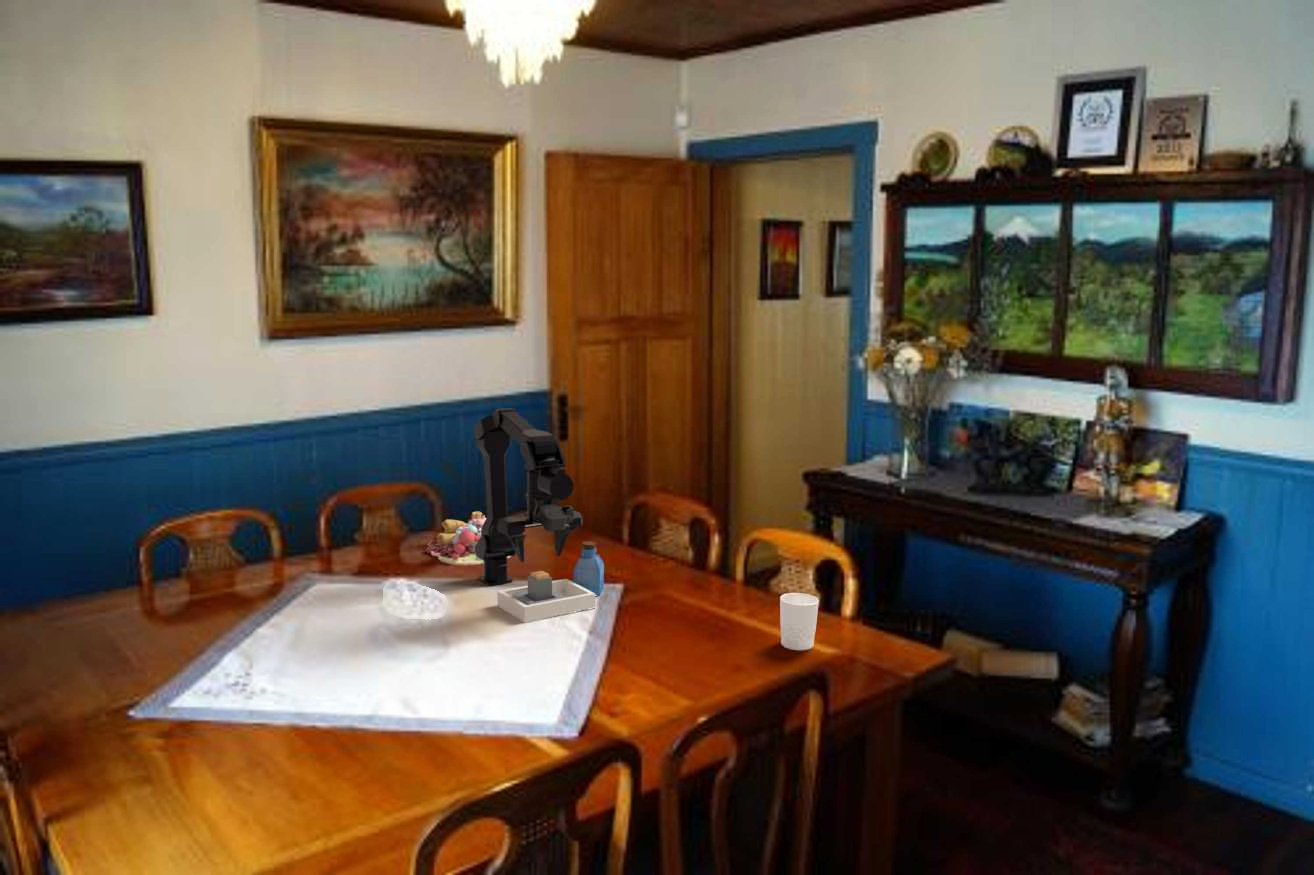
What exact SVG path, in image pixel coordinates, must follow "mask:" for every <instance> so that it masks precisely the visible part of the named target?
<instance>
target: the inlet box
mask: <svg viewBox="0 0 1314 875" xmlns="http://www.w3.org/2000/svg"><path fill="white" fill-rule="evenodd" d="M496 595H497V607H499V608H500V609H502V610H504V611H505V612H506V613H508V614H510V615H511V616H513V617H515V618H516V619H518V620H519V621H521V622H523V623H524V624H525V623H530V622H536V621H541V620H545V619H544V618H546V619H549V618H548V617H551V618H555V617H554V616H556V617H558V616H557V615H561V616H563V615H562V614H566V615H568V614H567V613H570V612H574V611H578V610H584V609H588V608H593V607H595V608H596V597H595V593H593V592H591V591H589V590H587V589H585V588H583V587H582V586H580V585H578V584H576V583H574V581H572V580H569V579H568V578H564V579H557V580H552V599H547V600H541V601H536V602H534V601H533V600H531V599H529V598H528V585H525V586H518V587H512V588H508V589H500V590H497V594H496Z"/></svg>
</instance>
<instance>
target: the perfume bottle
mask: <svg viewBox="0 0 1314 875" xmlns="http://www.w3.org/2000/svg"><path fill="white" fill-rule="evenodd" d="M596 544H597V542H596V541H592V540H591V541H583V542H582V548H581V553H582V554H581V556H579V558H578V561H577V563H576V564H575V567H574V569H573V582H574V583H576V584H578V585H580V586H582V587H583V588H585V589H587V590H589V591H591V592H593V593H595V595H597V596H600V597H601V595H602V593H603V591H602V590H604V589H603V588H605V587H604V585H605V584H604V583H605V582H604V581H605V580H604V579H605V577H604V576H605V574H604V572H605V571H604V570H605V563H604V562H603V560H602V558H601V556H600V554H596V553H597V547H596ZM601 592H602V593H601ZM600 594H601V595H600Z"/></svg>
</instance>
